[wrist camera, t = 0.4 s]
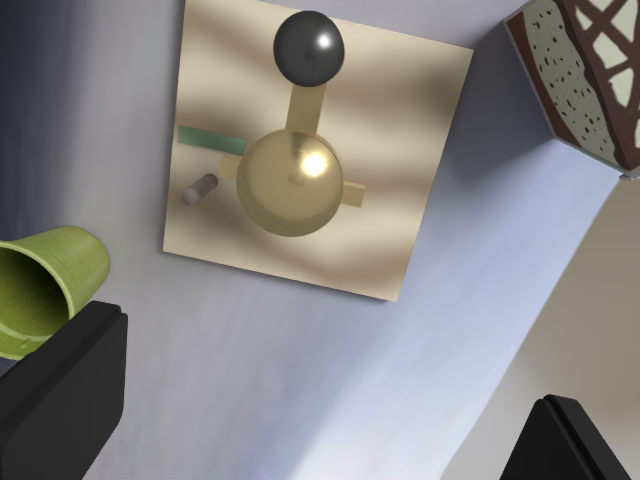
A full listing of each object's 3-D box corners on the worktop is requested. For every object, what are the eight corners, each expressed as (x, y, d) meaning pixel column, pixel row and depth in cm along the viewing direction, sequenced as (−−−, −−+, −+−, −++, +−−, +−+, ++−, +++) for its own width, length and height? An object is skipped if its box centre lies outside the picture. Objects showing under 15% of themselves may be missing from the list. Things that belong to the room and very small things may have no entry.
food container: (644, 111, 33) (761, 128, 24) (561, 155, 34) (640, 187, 25) (581, -57, 30) (687, -114, 20) (492, 0, 31) (554, -29, 22)
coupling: (244, 5, 26) (214, -12, 20) (401, 41, 26) (415, 34, 20) (217, 210, 30) (186, 243, 24) (351, 240, 30) (350, 279, 24)
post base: (192, -13, 32) (151, -34, 25) (469, 50, 32) (499, 46, 26) (168, 245, 39) (131, 281, 33) (395, 295, 39) (403, 340, 33)
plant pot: (7, 214, 39) (-83, 252, 31) (109, 198, 38) (43, 234, 30) (47, 309, 42) (-25, 366, 34) (142, 297, 41) (91, 354, 33)
